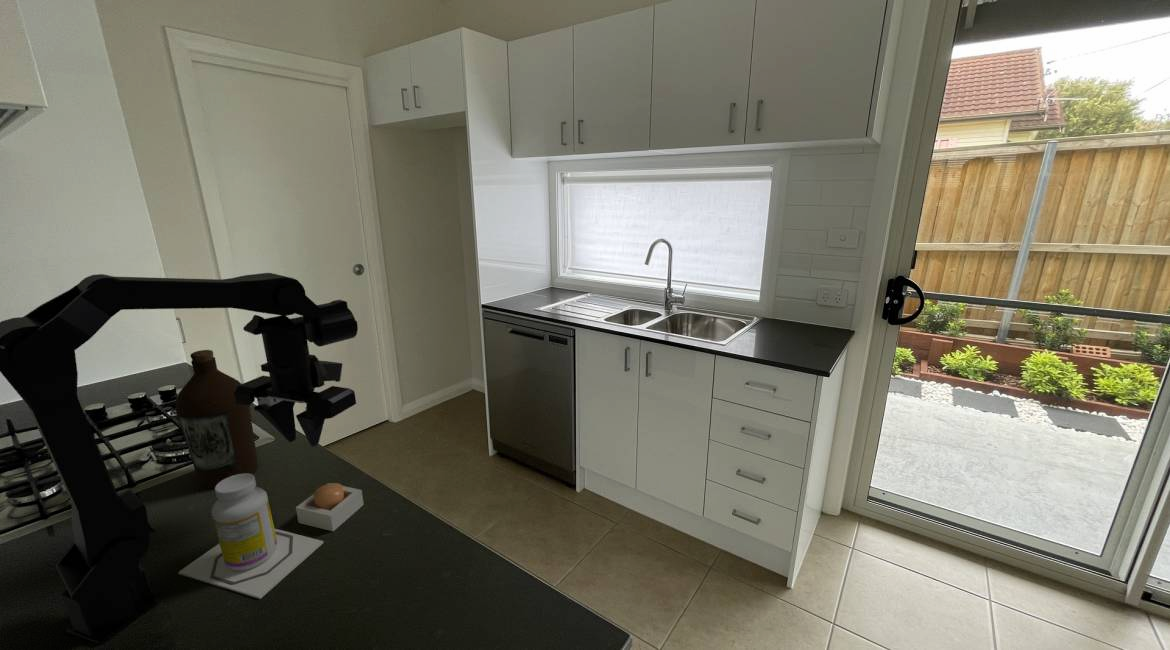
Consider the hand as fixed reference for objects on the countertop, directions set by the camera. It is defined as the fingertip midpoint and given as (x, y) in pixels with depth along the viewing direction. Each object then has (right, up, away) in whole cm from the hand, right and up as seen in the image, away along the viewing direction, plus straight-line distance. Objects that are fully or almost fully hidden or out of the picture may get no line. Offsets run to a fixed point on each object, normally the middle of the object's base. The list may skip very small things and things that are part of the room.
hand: (303, 443), depth 78 cm
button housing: (+3, -13, +3) cm, 13 cm away
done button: (+3, -11, +2) cm, 12 cm away
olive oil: (-22, -10, +13) cm, 28 cm away
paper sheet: (-3, -16, -7) cm, 17 cm away
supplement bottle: (-4, -15, -7) cm, 17 cm away
